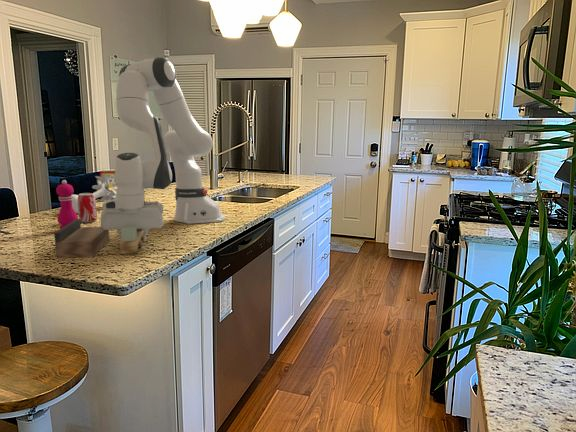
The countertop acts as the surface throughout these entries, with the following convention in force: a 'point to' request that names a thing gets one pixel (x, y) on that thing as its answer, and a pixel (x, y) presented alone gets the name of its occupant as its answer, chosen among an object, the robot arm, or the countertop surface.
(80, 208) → the soda can
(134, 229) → the block
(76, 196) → the flower vase
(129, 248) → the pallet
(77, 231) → the block
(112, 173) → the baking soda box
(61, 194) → the pepper mill
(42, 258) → the countertop surface
